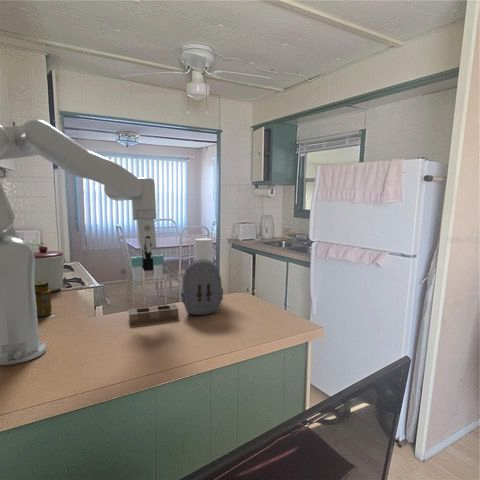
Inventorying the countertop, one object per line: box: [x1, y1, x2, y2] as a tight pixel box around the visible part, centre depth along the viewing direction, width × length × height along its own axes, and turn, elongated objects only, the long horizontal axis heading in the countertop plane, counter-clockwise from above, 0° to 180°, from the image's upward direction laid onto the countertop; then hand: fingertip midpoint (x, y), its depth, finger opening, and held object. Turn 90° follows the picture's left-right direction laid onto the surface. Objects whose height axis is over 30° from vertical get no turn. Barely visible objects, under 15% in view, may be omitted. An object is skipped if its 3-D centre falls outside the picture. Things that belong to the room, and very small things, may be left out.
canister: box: [33, 245, 66, 293], centre depth 159 cm, size 18×18×21 cm
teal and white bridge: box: [130, 253, 165, 283], centre depth 116 cm, size 3×10×8 cm, turn 112°
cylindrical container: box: [194, 237, 214, 263], centre depth 141 cm, size 7×7×25 cm
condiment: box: [34, 282, 57, 321], centre depth 122 cm, size 7×8×12 cm
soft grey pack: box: [180, 259, 224, 316], centre depth 121 cm, size 15×8×20 cm, turn 105°
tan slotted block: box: [128, 303, 180, 326], centre depth 118 cm, size 6×16×4 cm, turn 111°
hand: (147, 268), depth 116 cm, fingers closed on teal and white bridge, 3 cm apart
